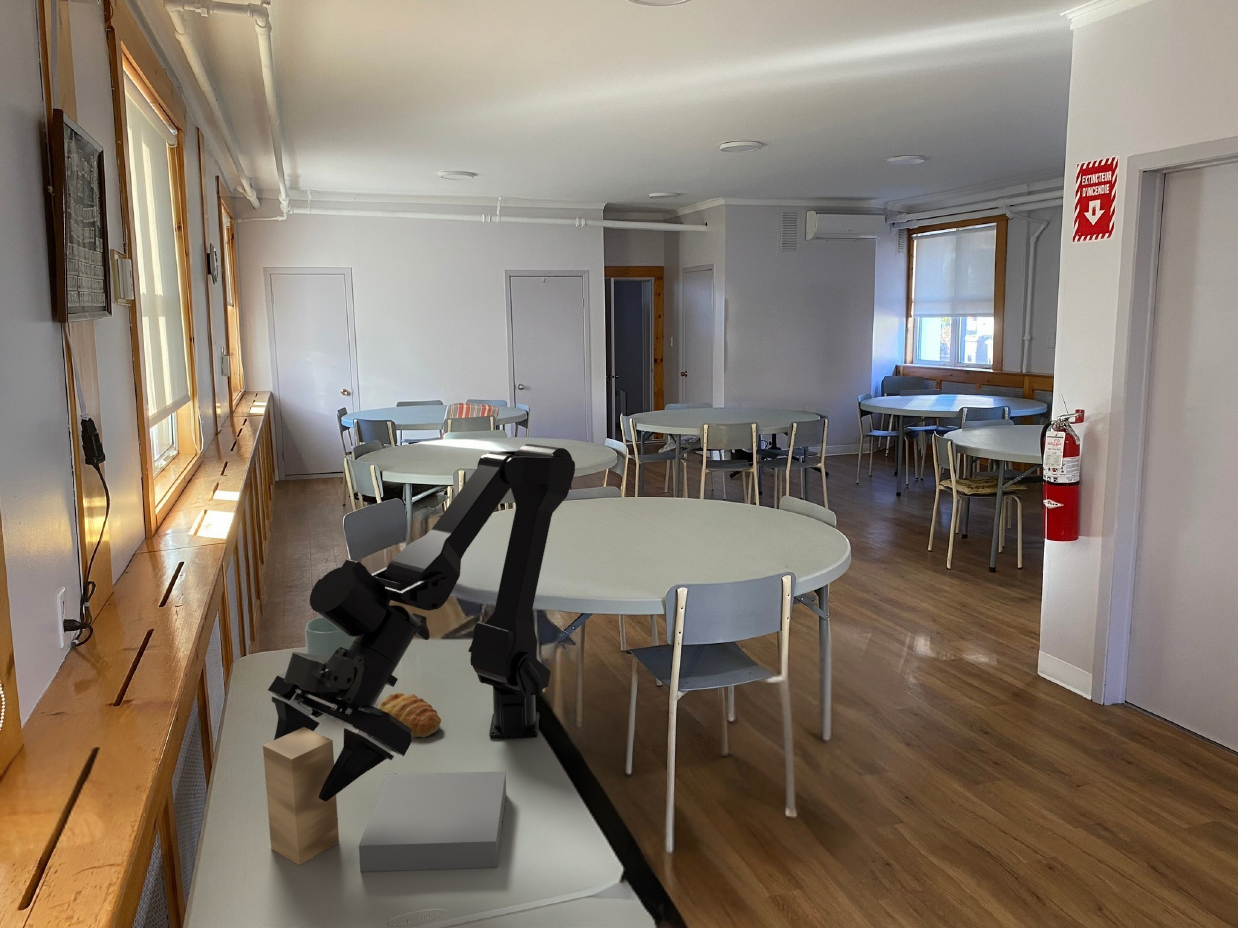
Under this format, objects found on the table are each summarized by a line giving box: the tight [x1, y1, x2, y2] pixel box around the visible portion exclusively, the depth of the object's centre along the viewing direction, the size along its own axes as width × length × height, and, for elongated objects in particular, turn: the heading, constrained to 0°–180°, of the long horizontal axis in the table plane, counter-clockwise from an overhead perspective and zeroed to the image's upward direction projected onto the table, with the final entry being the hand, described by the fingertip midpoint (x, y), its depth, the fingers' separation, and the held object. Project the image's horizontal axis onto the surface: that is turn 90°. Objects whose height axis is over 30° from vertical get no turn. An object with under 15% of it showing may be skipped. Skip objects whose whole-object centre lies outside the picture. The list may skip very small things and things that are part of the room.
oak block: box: [262, 727, 340, 866], centre depth 97 cm, size 5×5×12 cm
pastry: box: [377, 692, 442, 738], centre depth 125 cm, size 9×7×4 cm
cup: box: [304, 616, 355, 658], centre depth 137 cm, size 8×8×10 cm
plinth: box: [358, 770, 507, 873], centre depth 101 cm, size 14×14×3 cm
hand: (295, 785), depth 96 cm, fingers open, 9 cm apart
